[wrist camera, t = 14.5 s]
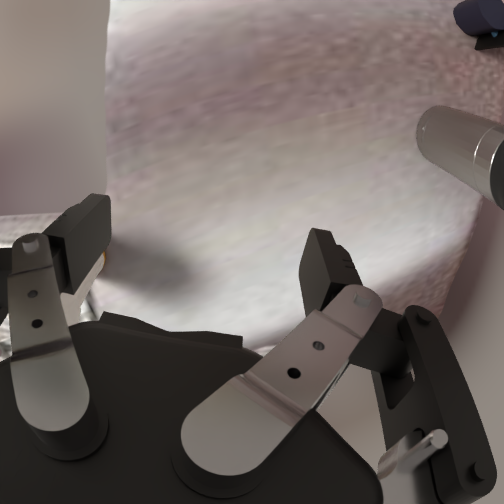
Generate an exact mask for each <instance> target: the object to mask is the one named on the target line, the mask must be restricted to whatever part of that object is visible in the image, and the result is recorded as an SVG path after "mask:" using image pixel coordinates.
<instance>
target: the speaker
mask: <svg viewBox="0 0 504 504" xmlns="http://www.w3.org/2000/svg"><path fill="white" fill-rule="evenodd" d="M453 14H454V17H455V20H456V24H457V25H458V26H459V27H460V28H461V29H462V30H463V31H464V32H465V33H466V34H468V35H479V36H478V39H477V43H476V46H475V50H483V49H491V48H500V47H504V3H503V2H502V1H501V0H465V1H463V2H461V3H459V4H458V5H457V6H456V7H455V8H454V11H453Z"/></svg>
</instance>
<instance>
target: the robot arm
mask: <svg viewBox="0 0 504 504" xmlns="http://www.w3.org/2000/svg"><path fill="white" fill-rule="evenodd" d="M417 143H418V146H419V149H420V151H421V153H422V155H423V156H424V157H425V158H426V159H427V160H429V161H430V162H432V163H433V164H435V165H437V166H438V167H440V168H442V169H443V170H445V171H446V172H448V173H450V174H451V175H453V176H454V177H456V178H458V179H459V180H461V181H462V182H464V183H465V184H467V185H468V186H470V187H471V188H473V189H474V190H476V191H477V192H479V193H480V194H482V195H483V196H485V197H486V198H488V199H489V200H490V201H492V202H493V203H495V204H496V205H497V206H499V207H500V208H501V209H503V210H504V125H503V124H500V123H497V122H494V121H492V120H489V119H486V118H482V117H479V116H476V115H473V114H470V113H466V112H463V111H460V110H456V109H453V108H449V107H445V106H436V107H432V108H431V109H429V110H427V111H426V112H425V113H424V114H423V116H422V118H421V119H420V121H419V124H418V128H417ZM110 239H111V201H110V197H109V196H108V195H101V194H90V195H89V196H88V197H87V198H85V199H84V200H83V201H82V202H81V203H80V204H76V205H74V206H72V207H70V208H68V209H67V210H66V211H65V212H64V213H63V214H62V216H61V215H60V216H59V217H58V218H57V219H56V220H55V221H54V222H53V223H52V224H51V225H50V226H49V227H47V228H46V229H45V230H44V231H43V232H42V233H30V234H26V235H23V236H21V237H20V238H18V239H17V240H16V241H15V242H14V243H13V245H12V248H0V326H1V324H2V322H3V321H4V319H5V318H6V316H7V315H8V313H9V326H10V337H11V346H12V356H11V357H9V358H7V359H5V360H3V361H1V362H0V504H471V503H473V502H474V501H476V500H478V499H480V498H482V497H483V496H485V495H487V494H488V493H489V492H490V491H491V490H492V489H493V488H494V486H495V483H496V479H497V470H496V465H495V462H494V458H493V455H492V452H491V449H490V446H489V442H488V439H487V436H486V433H485V431H484V427H483V425H482V421H481V419H480V416H479V413H478V410H477V408H476V405H475V403H474V400H473V397H472V395H471V392H470V390H469V387H468V385H467V382H466V380H465V377H464V375H463V373H462V370H461V368H460V366H459V363H458V361H457V359H456V357H455V354H454V352H453V350H452V348H451V346H450V343H449V341H448V339H447V337H446V335H445V333H444V331H443V329H442V327H441V325H440V323H439V321H438V319H437V318H436V316H435V315H434V314H433V313H432V312H430V311H429V310H427V309H425V308H423V307H421V306H417V305H411V306H408V307H407V308H406V309H405V311H404V313H403V315H400V314H397V313H395V312H392V311H389V310H386V309H384V308H382V306H383V304H382V300H381V298H380V297H379V296H378V295H377V294H376V293H375V292H374V291H373V290H371V289H369V288H367V287H365V286H363V284H362V282H361V279H360V277H359V275H358V272H357V270H356V269H355V265H354V263H353V262H352V259H351V256H350V254H349V253H348V252H347V251H346V250H345V249H344V248H343V247H342V246H341V245H336V243H335V240H334V238H333V235H332V233H331V231H327V230H322V229H316V228H312V229H311V230H310V232H309V235H308V238H307V242H306V245H305V248H304V252H303V255H302V258H301V262H300V266H299V280H300V286H301V292H302V297H303V303H304V309H305V315H306V318H305V319H304V320H303V321H302V322H301V323H300V324H299V325H298V326H297V327H296V328H294V329H293V330H292V331H291V332H290V333H289V334H288V335H287V336H286V337H285V338H284V339H283V340H282V341H281V342H280V343H278V344H277V345H276V346H275V347H274V348H273V349H272V350H271V351H270V352H269V353H268V354H266V355H265V356H264V357H263V356H261V355H259V354H258V353H256V352H254V351H251V350H249V349H247V348H244V347H242V343H243V336H237V335H230V334H223V333H216V332H210V331H191V332H169V331H165V330H163V329H160V328H158V327H155V326H153V325H151V324H148V323H146V322H143V321H141V320H139V319H136V318H133V317H128V316H123V315H118V314H114V313H109V312H105V311H104V312H103V314H102V316H101V318H100V320H99V321H87V322H81V323H77V324H74V325H71V326H68V325H67V321H66V318H65V314H64V310H63V306H62V302H61V298H60V295H61V293H62V292H63V293H67V294H71V295H74V294H75V293H76V291H77V290H78V288H79V287H80V285H81V284H82V282H83V281H84V279H85V278H86V276H87V275H88V273H89V272H90V270H91V269H92V267H93V266H94V265H95V263H96V262H97V260H98V259H99V257H100V256H101V255H102V253H103V252H104V250H105V249H106V248H107V246H108V245H109V242H110ZM350 364H353V365H357V366H360V367H363V368H366V369H369V370H371V374H372V378H373V383H374V387H375V392H376V397H377V402H378V407H379V412H380V417H381V423H382V428H383V434H384V439H385V445H386V451H387V452H386V453H384V454H383V456H382V457H381V458H380V460H379V463H378V474H376V473H375V471H374V470H373V469H372V467H371V466H370V465H369V464H368V463H367V462H366V461H365V460H364V459H363V458H362V457H361V456H360V455H359V454H358V453H357V452H356V451H355V450H354V449H353V448H352V447H351V446H350V445H349V444H348V443H347V442H346V441H345V440H344V439H343V438H342V437H341V436H340V435H339V434H338V433H337V432H336V431H335V430H334V429H333V428H332V427H331V425H330V424H329V423H328V422H327V421H326V420H325V419H324V418H323V417H322V416H321V415H320V414H319V413H318V412H317V411H318V409H319V408H320V406H321V405H322V404H323V402H324V401H325V399H326V398H327V396H328V395H329V394H330V392H331V391H332V389H333V388H334V387H335V386H336V384H337V383H338V381H339V380H340V378H341V377H342V376H343V374H344V373H345V371H346V370H347V368H348V367H349V365H350ZM412 368H413V370H414V374H415V381H413V378H412V374H411V370H412Z"/></svg>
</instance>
